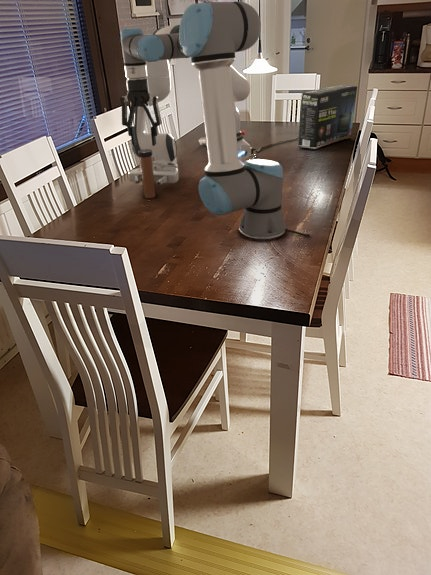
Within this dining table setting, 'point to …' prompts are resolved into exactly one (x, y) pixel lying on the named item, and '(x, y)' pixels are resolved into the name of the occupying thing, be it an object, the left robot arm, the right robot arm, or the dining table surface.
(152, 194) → the jar
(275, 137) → the dining table surface
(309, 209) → the dining table surface
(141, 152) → the lid
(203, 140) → the fossil
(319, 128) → the router box
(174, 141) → the left robot arm
